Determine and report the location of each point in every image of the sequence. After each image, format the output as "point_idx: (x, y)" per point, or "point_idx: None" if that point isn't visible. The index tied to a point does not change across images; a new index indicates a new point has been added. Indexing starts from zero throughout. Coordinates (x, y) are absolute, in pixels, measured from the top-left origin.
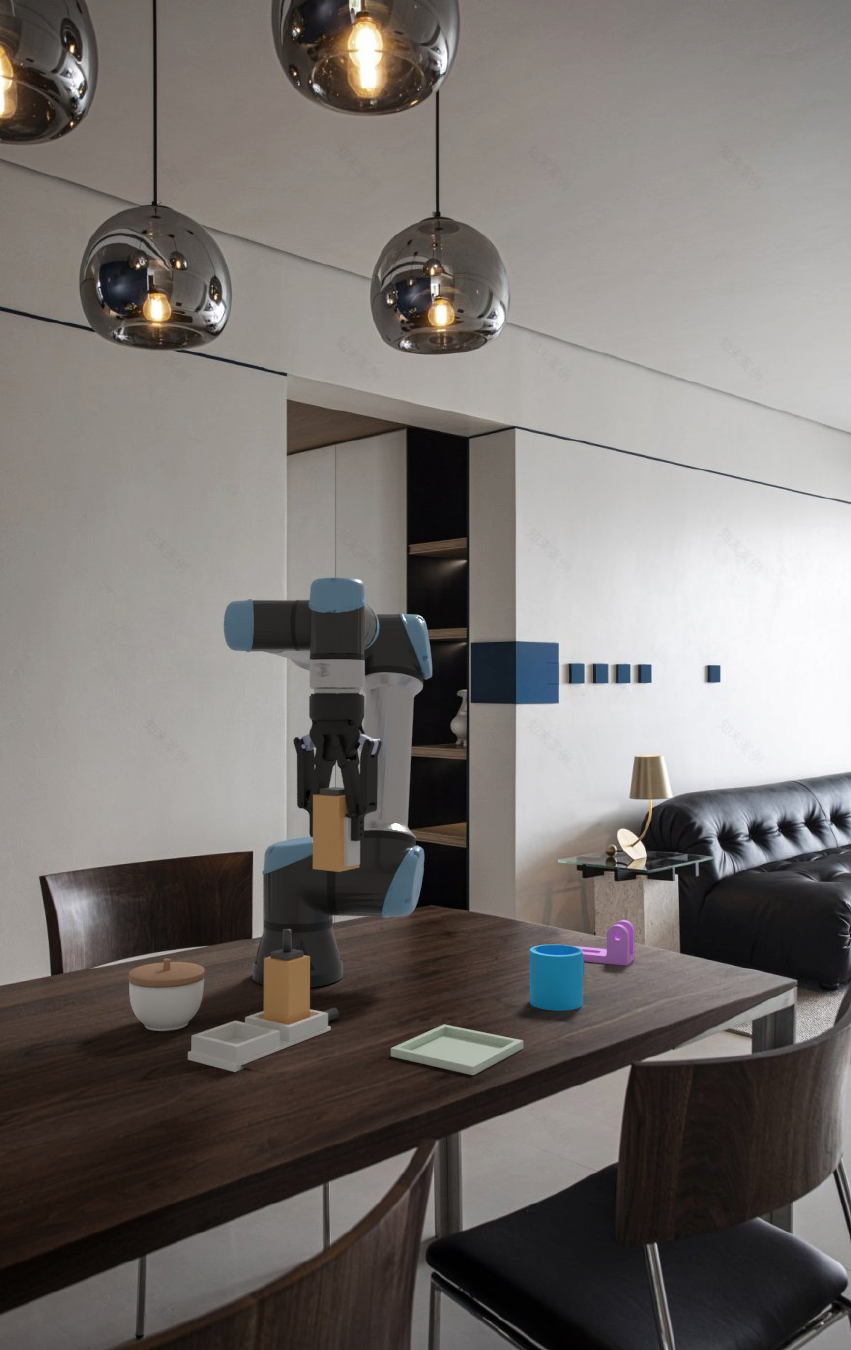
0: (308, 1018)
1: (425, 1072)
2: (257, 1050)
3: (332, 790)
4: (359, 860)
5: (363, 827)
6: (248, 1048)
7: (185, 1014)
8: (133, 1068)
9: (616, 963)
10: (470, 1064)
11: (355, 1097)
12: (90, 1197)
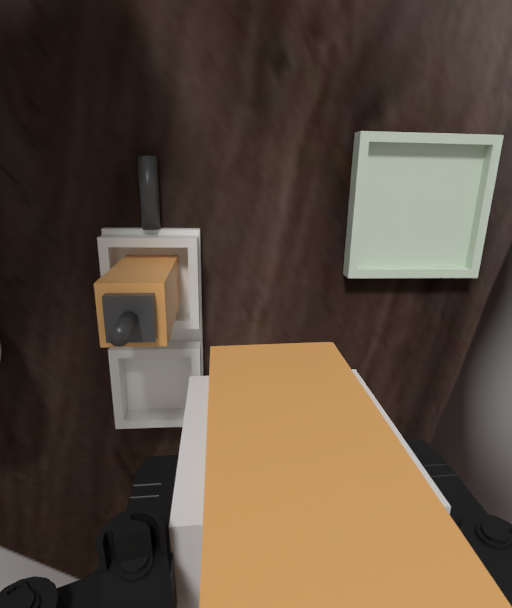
0: (191, 279)
1: (403, 284)
2: None
3: None
4: (359, 377)
5: (459, 484)
6: None
7: (1, 352)
8: (94, 467)
9: None
10: (470, 272)
11: (372, 392)
12: None
